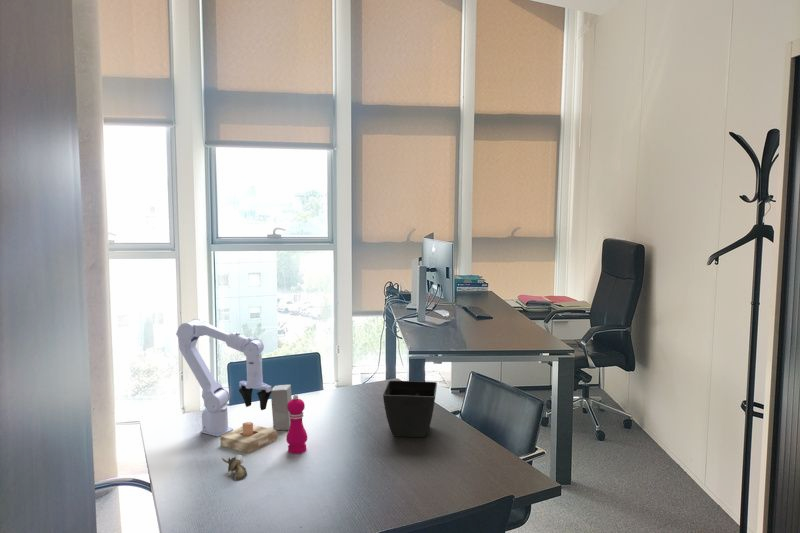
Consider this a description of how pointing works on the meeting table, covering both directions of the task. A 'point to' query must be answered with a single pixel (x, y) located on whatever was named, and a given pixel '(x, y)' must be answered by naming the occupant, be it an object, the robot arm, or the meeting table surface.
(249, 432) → the peg
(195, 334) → the robot arm
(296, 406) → the pepper mill
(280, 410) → the skincare box
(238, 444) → the bore block
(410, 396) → the flower pot
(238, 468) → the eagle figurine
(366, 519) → the meeting table surface
